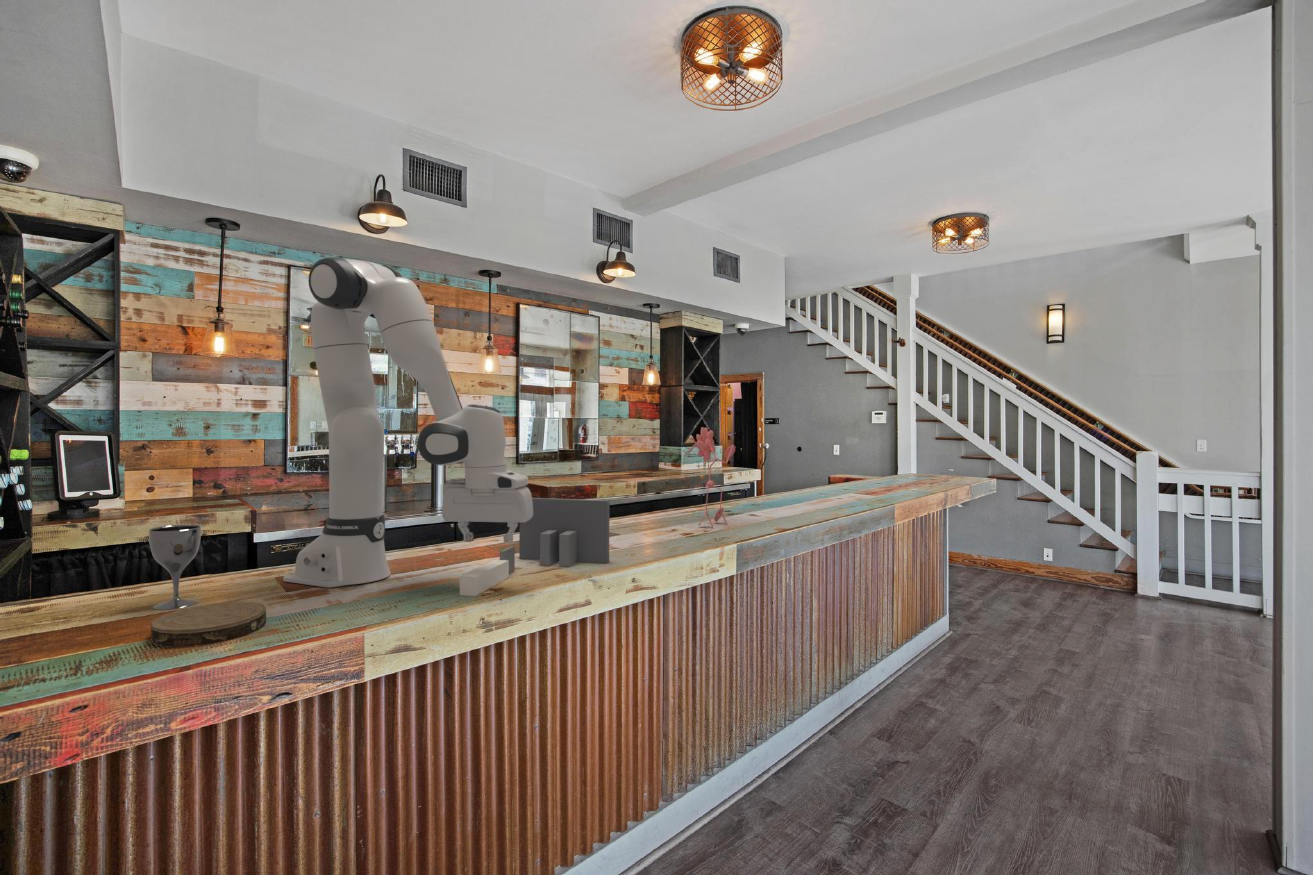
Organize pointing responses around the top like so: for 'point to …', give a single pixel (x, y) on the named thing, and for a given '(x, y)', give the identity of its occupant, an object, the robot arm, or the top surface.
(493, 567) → the rail
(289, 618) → the top surface
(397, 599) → the top surface
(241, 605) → the wood slice coaster
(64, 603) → the top surface
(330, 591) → the top surface
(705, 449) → the pink spindly flower stalk
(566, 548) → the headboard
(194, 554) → the wine glass
